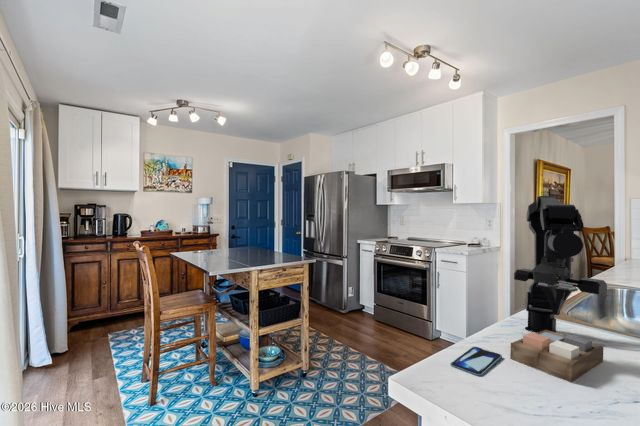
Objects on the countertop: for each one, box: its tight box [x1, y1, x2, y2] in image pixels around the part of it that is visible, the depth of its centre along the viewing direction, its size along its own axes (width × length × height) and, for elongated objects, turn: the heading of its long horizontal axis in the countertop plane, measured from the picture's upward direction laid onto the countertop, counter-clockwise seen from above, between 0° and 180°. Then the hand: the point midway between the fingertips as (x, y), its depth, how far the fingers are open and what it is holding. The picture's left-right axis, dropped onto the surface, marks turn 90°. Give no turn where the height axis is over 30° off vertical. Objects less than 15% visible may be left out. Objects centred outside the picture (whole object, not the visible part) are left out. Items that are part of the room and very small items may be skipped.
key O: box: [564, 334, 593, 352], centre depth 82 cm, size 4×4×3 cm
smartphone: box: [450, 346, 503, 377], centre depth 81 cm, size 7×1×15 cm
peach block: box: [522, 331, 550, 350], centre depth 82 cm, size 4×4×3 cm
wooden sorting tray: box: [509, 330, 605, 383], centre depth 82 cm, size 13×19×4 cm
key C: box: [539, 332, 564, 342], centre depth 87 cm, size 4×4×3 cm
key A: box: [549, 340, 579, 360], centre depth 77 cm, size 4×4×3 cm
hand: (555, 313), depth 83 cm, fingers closed
